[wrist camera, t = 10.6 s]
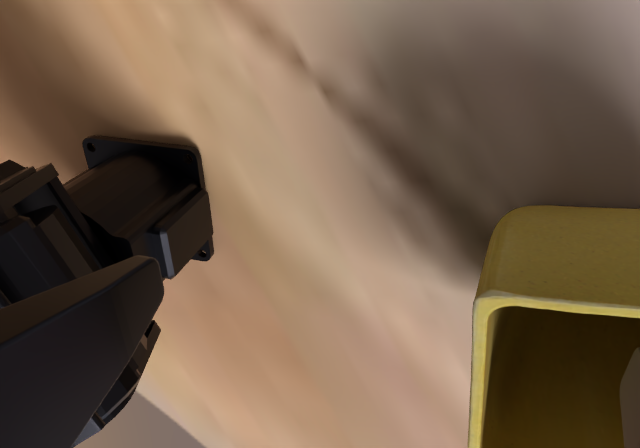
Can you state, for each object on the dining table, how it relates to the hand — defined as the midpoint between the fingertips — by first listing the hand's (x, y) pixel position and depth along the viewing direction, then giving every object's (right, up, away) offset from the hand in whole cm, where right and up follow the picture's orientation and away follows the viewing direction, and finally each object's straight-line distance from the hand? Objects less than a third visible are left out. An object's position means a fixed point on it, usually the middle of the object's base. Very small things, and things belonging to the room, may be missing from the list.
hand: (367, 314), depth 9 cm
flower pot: (+11, 0, +12) cm, 16 cm away
